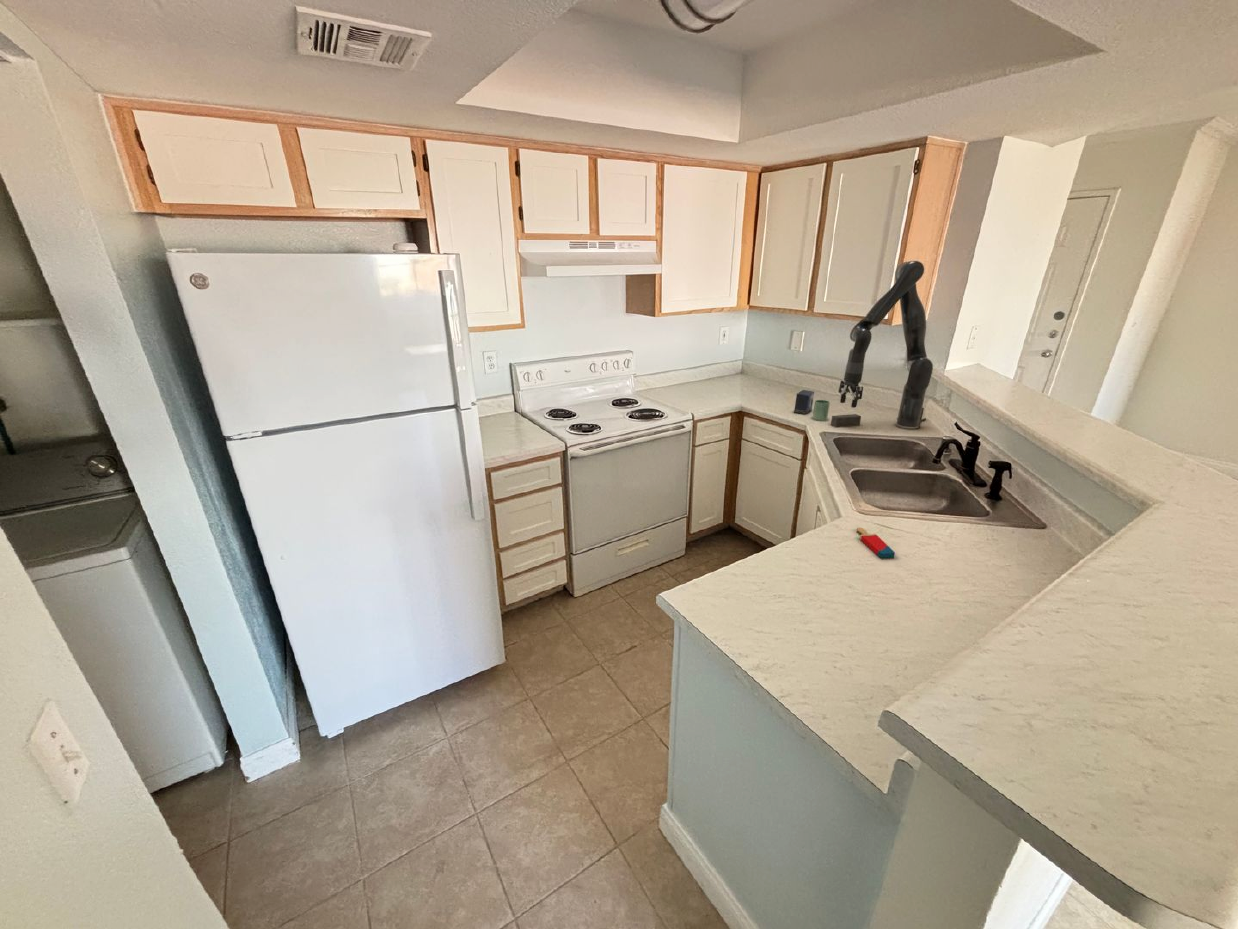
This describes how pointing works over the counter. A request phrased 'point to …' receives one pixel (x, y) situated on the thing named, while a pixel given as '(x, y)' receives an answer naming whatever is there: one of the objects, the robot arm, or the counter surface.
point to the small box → (804, 402)
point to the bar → (845, 420)
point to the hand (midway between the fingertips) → (847, 404)
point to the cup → (821, 410)
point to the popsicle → (876, 544)
